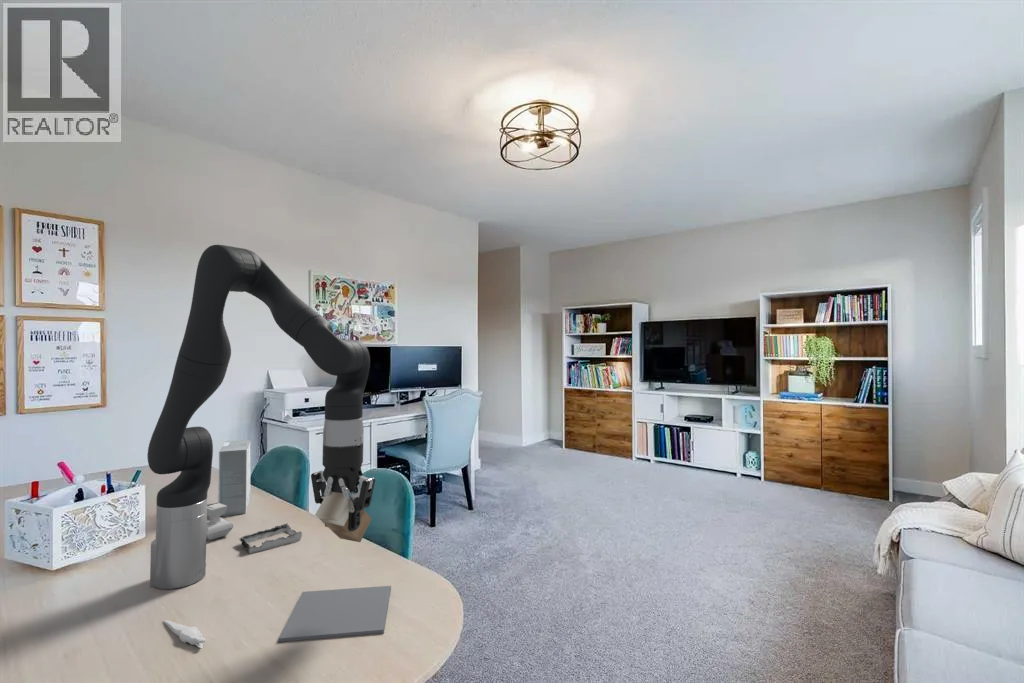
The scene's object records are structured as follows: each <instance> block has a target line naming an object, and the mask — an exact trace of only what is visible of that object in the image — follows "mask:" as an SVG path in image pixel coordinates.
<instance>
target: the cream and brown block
mask: <svg viewBox="0 0 1024 683" xmlns="http://www.w3.org/2000/svg"><path fill="white" fill-rule="evenodd" d="M348 503H349V502H348V501H347V499H344V496H343V493H338V492H331V494H330V495H329V496H325V498H324V500H323V502H322V503H321V504H320V505H319V507H318V509H317V510H316V513H315V514H314V516H315V517H316V518H318V519H319V520H320V521H321V522H322V523H323V524H324V526H325V525H326V526H327V527H326V528H328V529H329V530H330V531H331V532H333V534H334V535H336V537H338V538H339V539H340V540H345V541H350V542H351V541H352V542H357V543H361V542H362V539H363V538H364V535H365V534H366V531H367V529H368V528H369V525H370V523H371V522H372V519H373V518H372V517H371V516H370V515H369V514H368V513H367V512H366V511H365V510H364V509H363V510H361V511H360V526H359V527H358V529H356V530H354V531H353V532H352V531H349V530H348V521H349V512H350V511H349V507H348ZM354 503H355V500H354Z"/></svg>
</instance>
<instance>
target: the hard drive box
mask: <svg viewBox="0 0 1024 683" xmlns="http://www.w3.org/2000/svg"><path fill="white" fill-rule="evenodd" d="M217 494H218V496H217V497H218V498H217V500H218V501H217V502H218V503H220V504H223V505H226V506H227V510H226V511H225V514H223V515H221V517H229V516H235V515H236V516H237V515H243V514H244V513H245V514H246V513H247V510H248V507H249V503H250V499H251V440H250V439H243V440H242V439H241V440H229V441H228V440H227V441H224V443H223V445H222V447H221V448H220V449H219V450H218V493H217ZM218 503H217V504H218ZM245 514H244V515H245Z"/></svg>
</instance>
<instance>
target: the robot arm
mask: <svg viewBox="0 0 1024 683" xmlns="http://www.w3.org/2000/svg"><path fill="white" fill-rule="evenodd" d="M230 292H235V293H237V292H238V293H244V292H245V293H247V294H249V295H251V296H254V297H255V298H256V299H259V300H260V301H261V302H263V304H265V305H266V307H268V308H269V311H270V314H271V315H272V318H273V319H274V322H275V323H276V325H277V326H278V328H280V330H282V331H283V332H284V333H285V334H286V335H287V336H289V337H290V338H291V339H292V340H293V341H295V342H296V343H297V344H299V345H300V346H301V347H303V349H304V350H305V351H306V353H307V355H308V356H309V358H310V359H311V360H312V361H313V363H314V364H315V365H316V366H317V367H318V368H319V369H321V371H323V372H325V373H327V374H329V375H330V376H334V377H335V376H336V380H335V383H334V384H335V385H334V386H333V387H332V388H330V389H329V390H328V391H326V394H325V400H324V423H323V429H322V466H323V467H324V469H323V470H319V471H316V472H313V473H311V474H310V480H311V485H312V492H313V497H314V503H316V504H317V505H318V504H320V505H321V503H322V502H323V500H324V498H325V496H329V495H330V494H331V492H338V493H343V496H344V499H347V501H348V502H349V503H348V507H349V511H350V512H349V521H348V530H349V531H352V532H353V531H354V530H356V529H358V527H359V526H360V511H361V510H364V509H366V508H368V507H370V506H371V501H372V498H373V492H374V489H375V483H376V478H375V477H374V476H373V477H367V476H364V474H363V471H362V465H363V463H364V432H365V431H364V423H363V409H364V407H363V406H364V405H363V403H364V402H363V400H364V398H363V396H364V394H365V392H364V391H365V389H366V385H367V381H368V377H369V373H370V368H371V356H370V352H369V349H368V347H367V346H366V344H364V342H362V341H360V340H357V339H342V338H340V337H338V336H337V335H336V334H334V333H333V332H334V331H333V330H334V329H333V326H332V324H331V323H330V321H328V320H327V319H326V318H325V317H324V316H322V315H321V314H320V313H319V312H318V311H316V310H315V309H313V308H312V307H310V305H309V304H308V303H305V302H304V300H302V299H301V298H300V297H299V296H297V295H296V294H295V293H294V292H293V291H292V290H291V289H290V288H289V287H288V286H287V285H286V283H285V282H283V281H282V280H281V279H280V278H279V276H278V275H276V273H275V272H274V270H272V269H271V267H270V266H269V265H268V264H267V263H266V262H265V261H264V260H263V259H262V258H261V257H260V256H259V255H258V254H257V253H256V252H254V251H253V250H252V251H251V250H249V249H246V248H242V247H236V246H231V245H226V244H212V245H209V246H208V247H206V248H205V250H204V251H203V252H202V254H201V256H200V258H199V259H198V264H197V266H196V273H195V279H194V285H193V292H192V298H191V304H190V309H189V315H188V318H187V323H186V325H185V326H186V327H185V330H184V335H183V338H182V342H181V344H180V348H179V351H178V355H177V357H176V362H175V366H174V370H173V375H172V378H171V379H172V380H171V381H170V385H169V389H168V393H167V396H166V399H165V401H164V405H163V407H162V409H161V410H162V411H161V413H160V415H159V417H158V420H157V423H156V425H155V427H154V430H153V432H152V435H151V438H150V440H149V443H148V449H147V457H146V458H147V463H148V467H149V469H150V471H152V473H153V474H156V475H168V474H169V475H170V474H174V473H179V472H180V473H179V475H178V476H177V477H176V478H175V479H174V480H173V481H171V482H170V483H169V484H166V485H165V486H164V487H162V488H160V489H159V490H158V492H157V493H156V507H155V508H156V512H155V513H156V514H155V516H156V517H155V518H156V519H155V539H154V540H152V541H151V543H150V561H149V562H150V563H149V564H150V569H149V570H150V571H149V576H150V577H149V587H150V588H158V589H161V590H172V589H180V588H183V587H187V586H190V585H193V584H196V583H198V582H199V581H200V580H202V579H203V578H204V577H205V576H206V570H207V569H206V567H207V561H206V560H207V539H206V530H207V521H208V518H207V517H208V515H207V506H208V491H209V488H210V487H211V486H210V485H211V483H212V482H211V479H212V469H213V468H212V467H213V456H214V446H213V444H214V443H213V439H212V436H211V435H212V434H210V432H209V431H208V429H206V428H205V427H204V426H191V427H187V426H188V424H189V422H190V421H191V419H192V417H193V415H194V414H195V413H196V412H197V410H199V408H201V407H202V405H203V404H205V402H207V401H208V400H209V398H210V397H211V396H212V395H214V393H215V392H216V391H217V390H218V389H219V388H220V386H221V385H222V383H223V381H224V379H225V377H226V374H227V371H228V368H229V364H230V361H231V360H230V359H231V357H232V356H231V355H232V348H231V347H232V346H231V342H230V339H229V335H228V332H227V330H226V327H225V324H224V310H225V306H226V302H227V299H228V296H229V294H230ZM354 500H355V503H354ZM324 527H326V528H328V527H327V526H326V525H325V524H324Z"/></svg>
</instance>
